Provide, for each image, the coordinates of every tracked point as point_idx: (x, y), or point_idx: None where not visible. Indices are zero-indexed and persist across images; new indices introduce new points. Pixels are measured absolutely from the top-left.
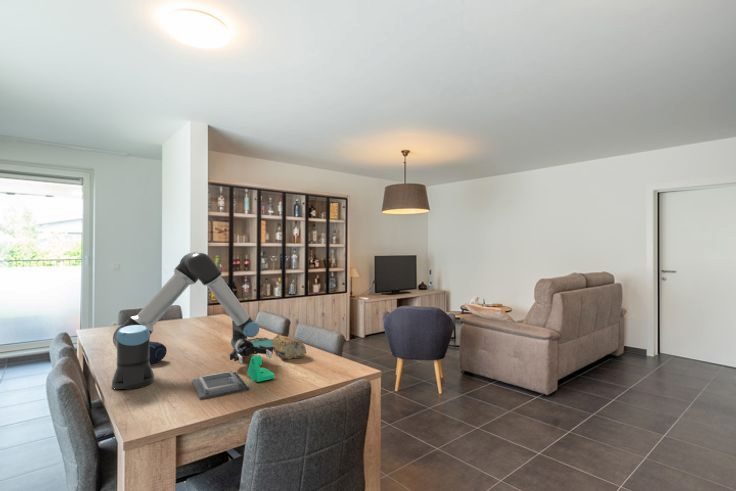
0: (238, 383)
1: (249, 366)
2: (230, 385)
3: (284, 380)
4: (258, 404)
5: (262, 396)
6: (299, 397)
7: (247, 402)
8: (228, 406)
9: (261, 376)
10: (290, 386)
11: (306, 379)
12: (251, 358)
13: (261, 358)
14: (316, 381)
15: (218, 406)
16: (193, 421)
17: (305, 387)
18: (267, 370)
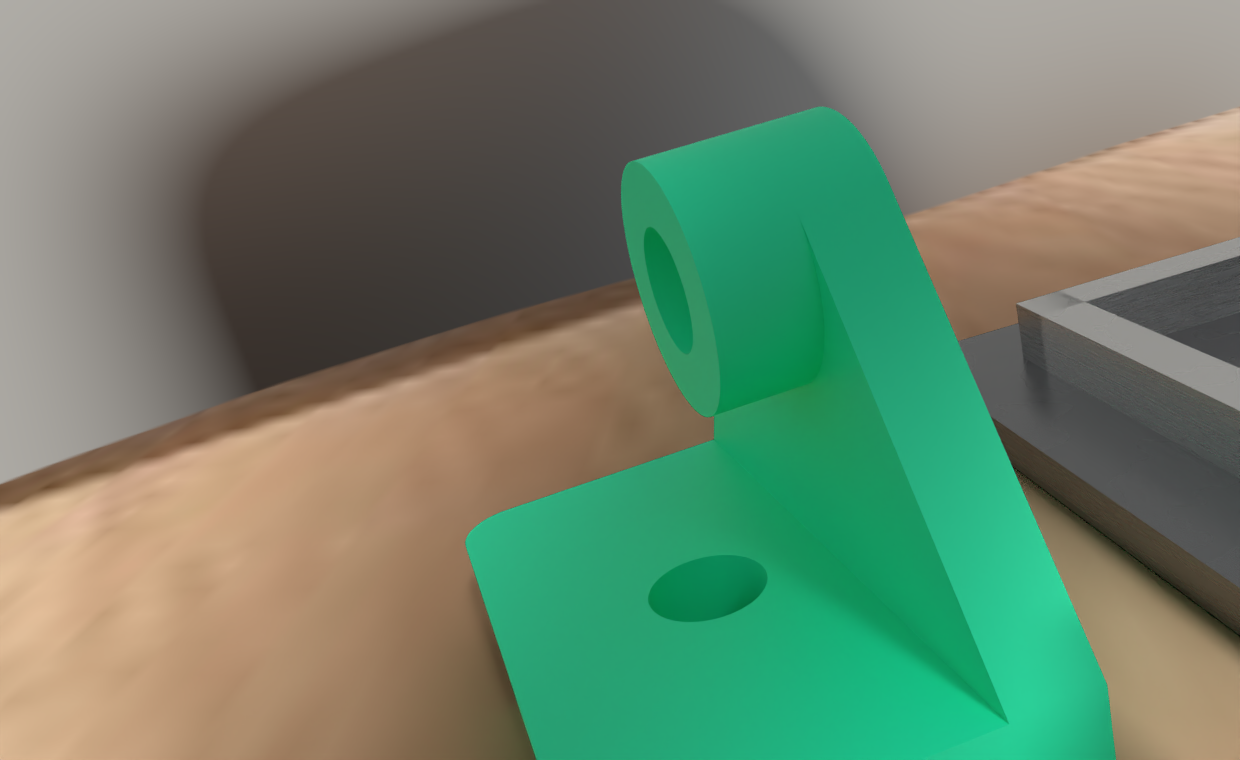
0: (1055, 292)
1: (1000, 475)
2: (1165, 265)
3: (351, 608)
4: None
5: None
6: (404, 356)
7: None
8: (1031, 221)
9: (709, 461)
10: (371, 480)
11: (50, 631)
12: (878, 187)
13: (625, 203)
14: (4, 583)
15: (1133, 208)
16: (1219, 123)
17: (236, 472)
18: (546, 680)
